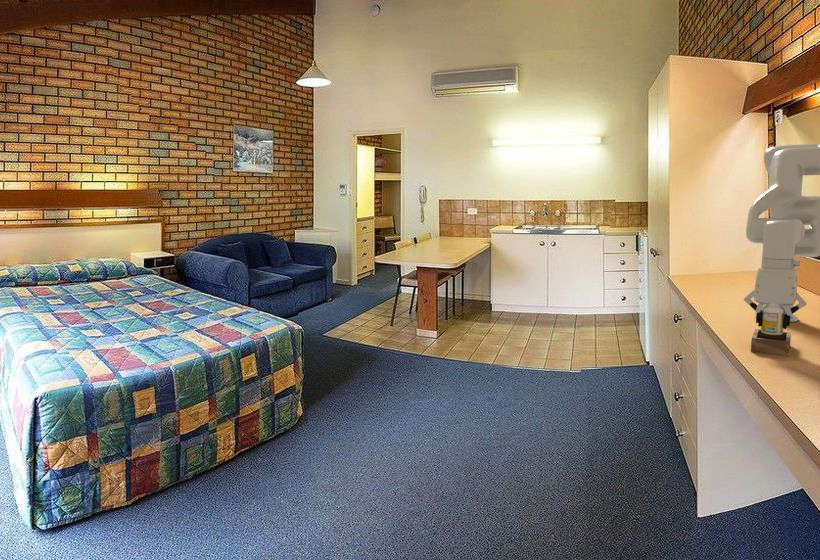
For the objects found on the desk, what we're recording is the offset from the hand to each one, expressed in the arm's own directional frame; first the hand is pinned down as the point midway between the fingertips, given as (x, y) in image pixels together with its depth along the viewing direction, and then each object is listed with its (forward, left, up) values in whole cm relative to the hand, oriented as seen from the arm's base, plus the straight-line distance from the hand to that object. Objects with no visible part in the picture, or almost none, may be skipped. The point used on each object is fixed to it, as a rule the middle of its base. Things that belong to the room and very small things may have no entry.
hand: (772, 326), depth 160 cm
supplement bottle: (0, 0, -2) cm, 2 cm away
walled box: (0, 0, -7) cm, 7 cm away
